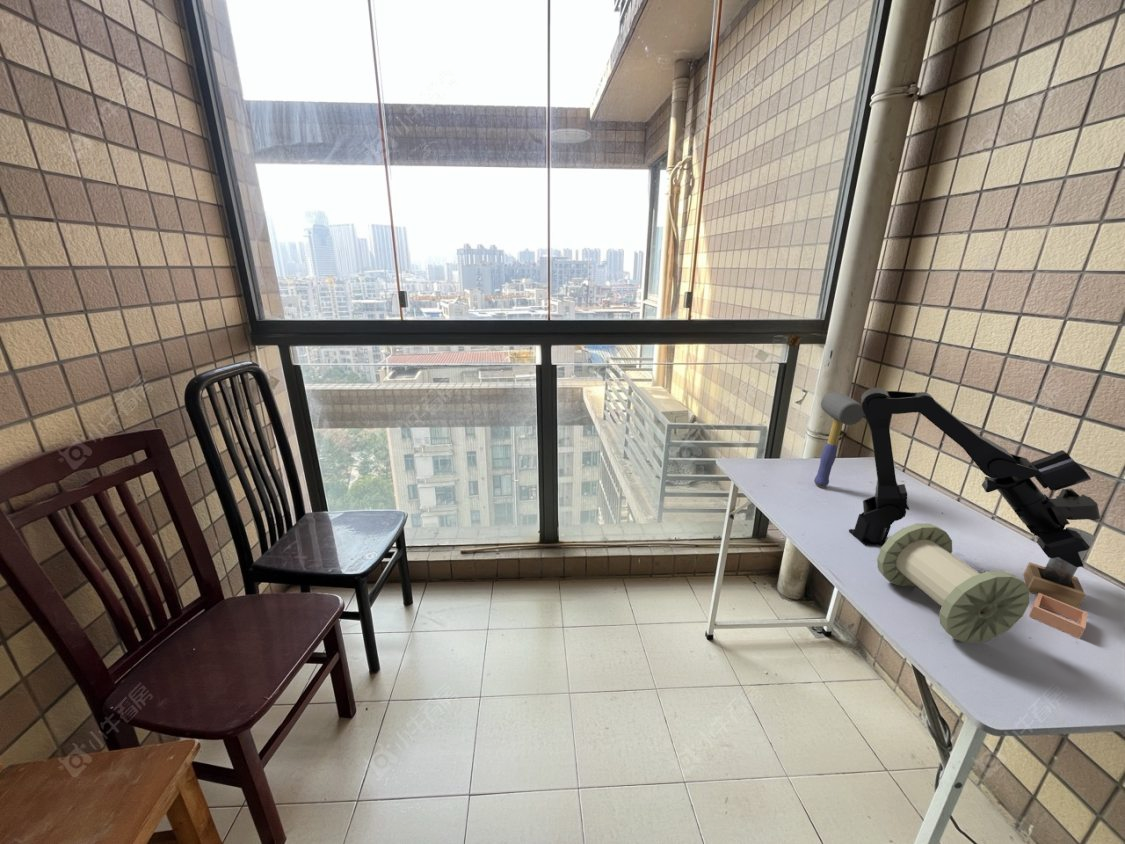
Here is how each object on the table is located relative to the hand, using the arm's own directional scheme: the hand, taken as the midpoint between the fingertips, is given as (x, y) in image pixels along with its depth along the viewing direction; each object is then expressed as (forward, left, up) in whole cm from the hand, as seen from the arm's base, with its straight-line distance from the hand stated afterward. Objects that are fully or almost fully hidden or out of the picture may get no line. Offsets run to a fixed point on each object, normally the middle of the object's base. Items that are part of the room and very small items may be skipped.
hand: (1075, 560), depth 90 cm
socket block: (-9, -7, -9) cm, 15 cm away
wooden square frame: (-1, +1, -9) cm, 9 cm away
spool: (-32, -4, -9) cm, 34 cm away
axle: (-1, +1, -7) cm, 7 cm away
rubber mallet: (-23, +48, -9) cm, 54 cm away
